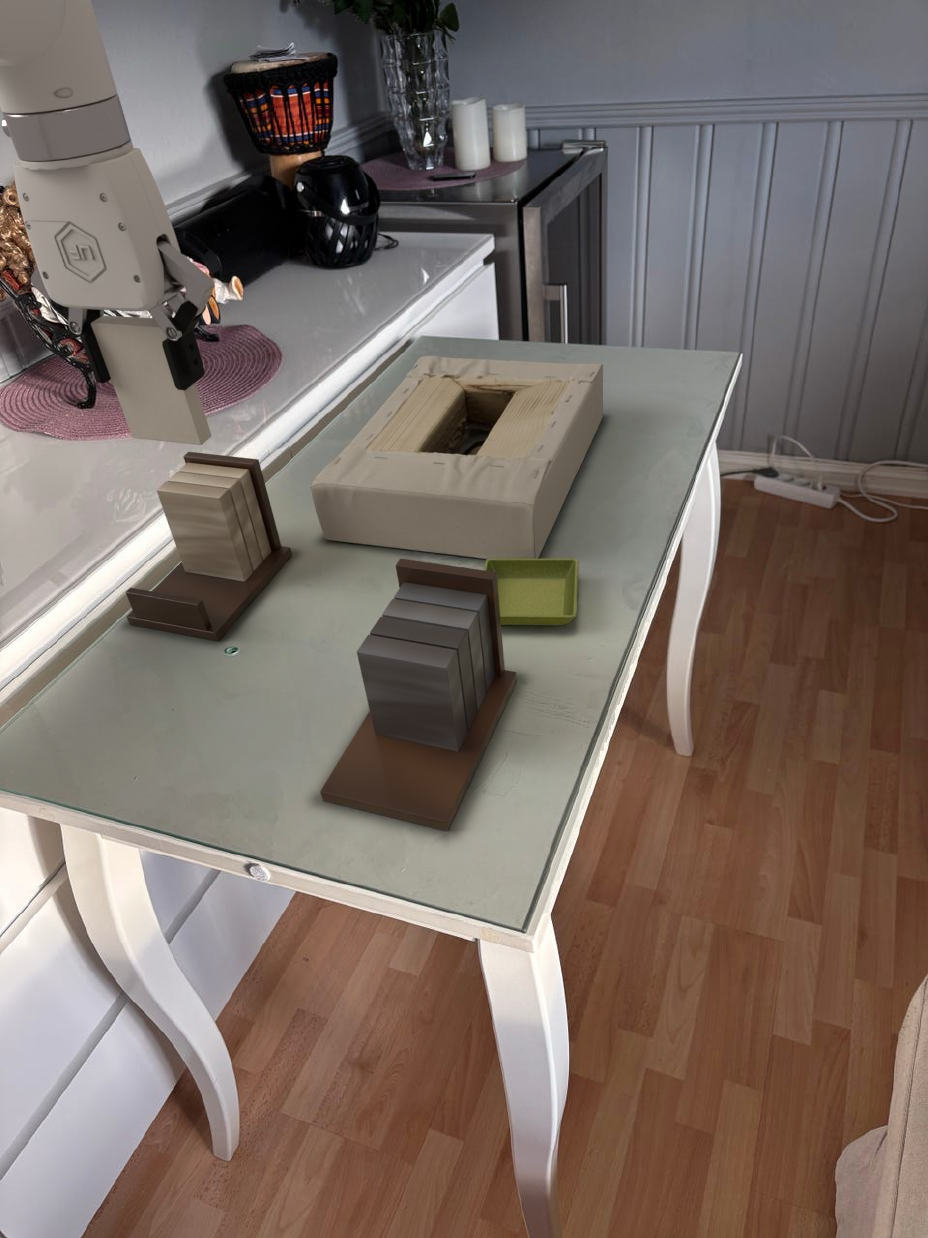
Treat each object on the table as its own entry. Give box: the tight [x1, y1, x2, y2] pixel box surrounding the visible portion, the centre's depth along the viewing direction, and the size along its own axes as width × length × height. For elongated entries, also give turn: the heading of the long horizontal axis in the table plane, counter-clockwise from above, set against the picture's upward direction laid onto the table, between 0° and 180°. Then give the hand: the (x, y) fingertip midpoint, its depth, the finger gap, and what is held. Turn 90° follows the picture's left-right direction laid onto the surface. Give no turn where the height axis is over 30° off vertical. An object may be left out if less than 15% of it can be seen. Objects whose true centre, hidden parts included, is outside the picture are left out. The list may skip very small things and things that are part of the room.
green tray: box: [483, 558, 580, 626], centre depth 82 cm, size 9×9×2 cm
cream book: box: [91, 315, 212, 446], centre depth 73 cm, size 2×7×10 cm, turn 69°
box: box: [310, 355, 604, 560], centre depth 100 cm, size 23×8×32 cm
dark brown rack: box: [125, 451, 293, 642], centre depth 86 cm, size 14×10×11 cm
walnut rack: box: [319, 558, 518, 832], centre depth 68 cm, size 16×10×11 cm, turn 160°
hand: (150, 377), depth 73 cm, fingers closed on cream book, 7 cm apart
